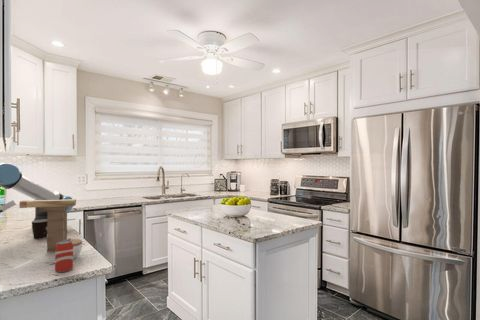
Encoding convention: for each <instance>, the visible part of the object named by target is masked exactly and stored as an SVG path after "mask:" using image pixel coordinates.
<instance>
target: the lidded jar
mask: <svg viewBox="0 0 480 320" xmlns="http://www.w3.org/2000/svg"><path fill="white" fill-rule="evenodd" d="M67 240H71V241H72V244H73V260H74V259H76V258H77V257H78V256H79V255H80V254H81V252H82V247H83V240H82V239H80V238H68V237H67ZM63 241H64V240H63ZM56 245H57V243H56Z"/></svg>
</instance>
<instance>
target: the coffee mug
mask: <svg viewBox="0 0 480 320" xmlns="http://www.w3.org/2000/svg"><path fill="white" fill-rule="evenodd" d="M32 228H33V229H32ZM31 229H32V235H33V239H34V240H42V239H47V219H42V220H35V221H34V220H31Z"/></svg>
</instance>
